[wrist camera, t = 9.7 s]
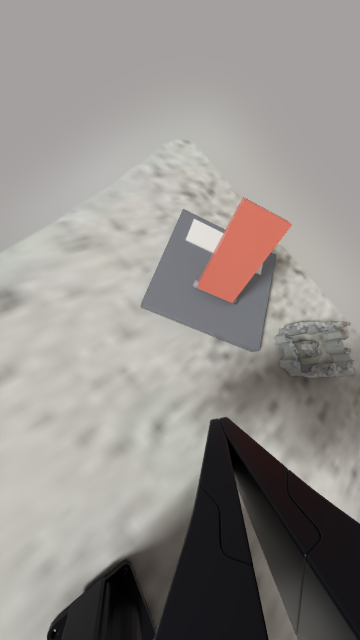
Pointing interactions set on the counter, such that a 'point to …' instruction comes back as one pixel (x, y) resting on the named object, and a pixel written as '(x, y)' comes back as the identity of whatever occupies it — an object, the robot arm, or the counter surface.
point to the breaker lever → (241, 250)
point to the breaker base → (201, 307)
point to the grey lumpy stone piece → (316, 349)
